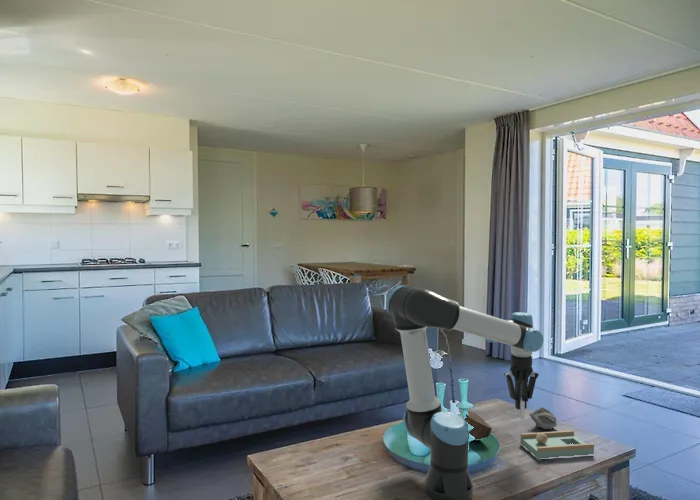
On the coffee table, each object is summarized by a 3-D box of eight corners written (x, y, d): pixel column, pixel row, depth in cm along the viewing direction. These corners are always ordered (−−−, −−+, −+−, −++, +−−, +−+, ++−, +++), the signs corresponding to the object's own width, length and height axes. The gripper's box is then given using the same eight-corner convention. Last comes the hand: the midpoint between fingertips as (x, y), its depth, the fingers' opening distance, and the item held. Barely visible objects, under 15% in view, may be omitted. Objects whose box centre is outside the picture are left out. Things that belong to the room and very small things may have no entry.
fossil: (537, 433, 203) (537, 413, 203) (524, 424, 212) (525, 406, 212) (561, 431, 206) (561, 412, 205) (548, 422, 214) (548, 404, 214)
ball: (539, 446, 184) (539, 435, 183) (533, 441, 188) (534, 431, 187) (549, 445, 184) (549, 435, 184) (543, 441, 188) (543, 430, 188)
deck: (538, 460, 179) (538, 448, 179) (520, 445, 192) (520, 433, 191) (593, 456, 182) (594, 444, 182) (572, 441, 195) (572, 430, 195)
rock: (497, 431, 193) (484, 421, 188) (482, 452, 192) (468, 443, 187) (476, 413, 204) (463, 404, 198) (461, 433, 203) (448, 425, 198)
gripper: (509, 358, 178) (509, 422, 179) (543, 356, 181) (542, 420, 182) (500, 352, 186) (499, 414, 187) (532, 351, 188) (531, 412, 189)
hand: (520, 417), depth 184 cm, fingers closed
